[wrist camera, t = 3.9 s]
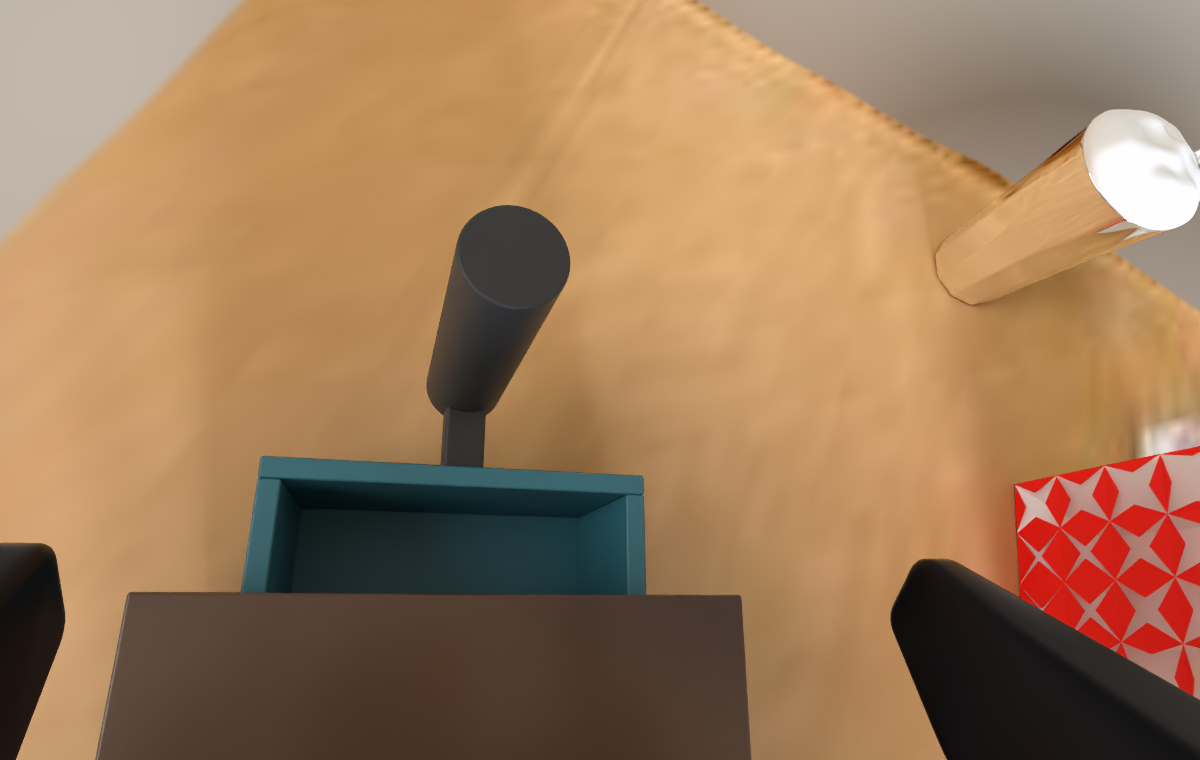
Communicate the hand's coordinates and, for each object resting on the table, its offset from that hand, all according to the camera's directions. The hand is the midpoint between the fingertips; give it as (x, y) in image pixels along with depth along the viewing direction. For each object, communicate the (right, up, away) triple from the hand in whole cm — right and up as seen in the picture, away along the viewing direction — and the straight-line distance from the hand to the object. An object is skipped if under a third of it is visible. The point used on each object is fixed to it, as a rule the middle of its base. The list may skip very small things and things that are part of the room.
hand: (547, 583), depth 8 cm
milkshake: (+17, +7, +24) cm, 31 cm away
